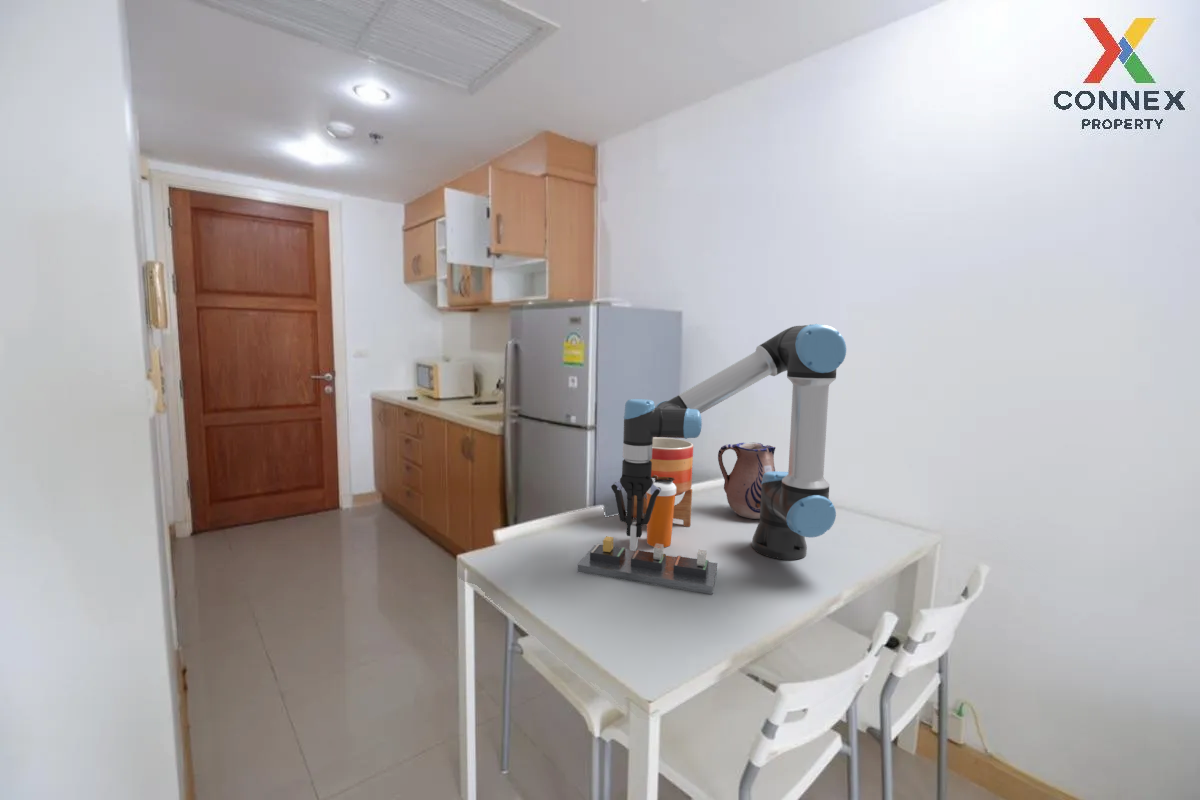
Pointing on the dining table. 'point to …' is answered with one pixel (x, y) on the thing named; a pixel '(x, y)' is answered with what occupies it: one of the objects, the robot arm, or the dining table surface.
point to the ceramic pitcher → (747, 476)
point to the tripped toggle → (608, 544)
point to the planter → (673, 473)
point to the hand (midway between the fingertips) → (633, 548)
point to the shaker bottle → (661, 512)
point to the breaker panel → (650, 574)
